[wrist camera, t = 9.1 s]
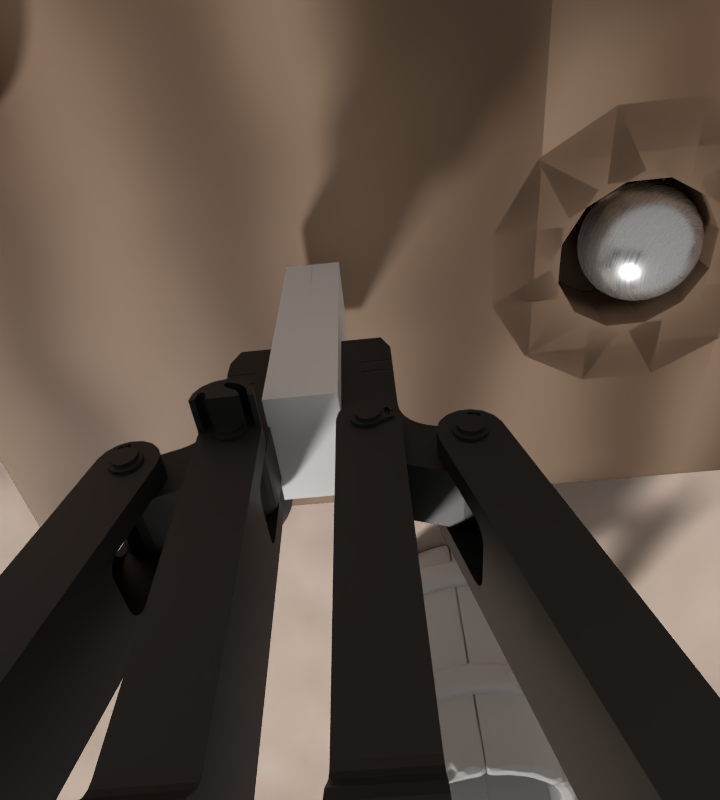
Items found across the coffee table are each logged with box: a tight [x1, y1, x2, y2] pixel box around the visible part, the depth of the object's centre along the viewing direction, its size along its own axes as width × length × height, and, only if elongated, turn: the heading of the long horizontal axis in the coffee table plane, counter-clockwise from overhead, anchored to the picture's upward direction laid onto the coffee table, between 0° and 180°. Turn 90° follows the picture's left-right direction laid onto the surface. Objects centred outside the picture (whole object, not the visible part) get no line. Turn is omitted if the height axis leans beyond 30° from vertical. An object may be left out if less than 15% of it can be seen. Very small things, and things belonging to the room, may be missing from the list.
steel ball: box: [577, 182, 704, 301], centre depth 19 cm, size 4×4×4 cm
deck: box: [0, 0, 720, 527], centre depth 19 cm, size 30×18×2 cm, turn 96°
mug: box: [418, 546, 578, 800], centre depth 27 cm, size 8×12×12 cm, turn 43°
